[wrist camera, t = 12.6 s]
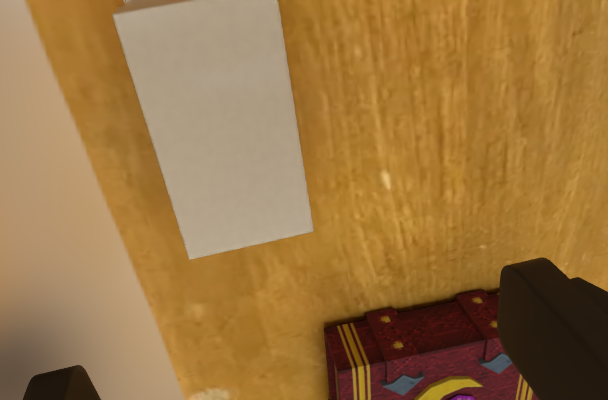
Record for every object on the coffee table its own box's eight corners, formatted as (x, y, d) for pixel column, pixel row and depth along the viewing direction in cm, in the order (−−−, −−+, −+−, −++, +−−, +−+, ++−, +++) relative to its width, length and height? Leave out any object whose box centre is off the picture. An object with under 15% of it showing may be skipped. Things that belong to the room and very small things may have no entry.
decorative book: (319, 320, 34) (337, 377, 30) (538, 276, 36) (584, 323, 32) (329, 428, 40) (346, 489, 35) (518, 384, 42) (556, 437, 37)
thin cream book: (118, 6, 20) (111, 14, 18) (269, -20, 20) (275, -15, 18) (189, 237, 25) (188, 260, 23) (306, 211, 26) (314, 232, 24)
